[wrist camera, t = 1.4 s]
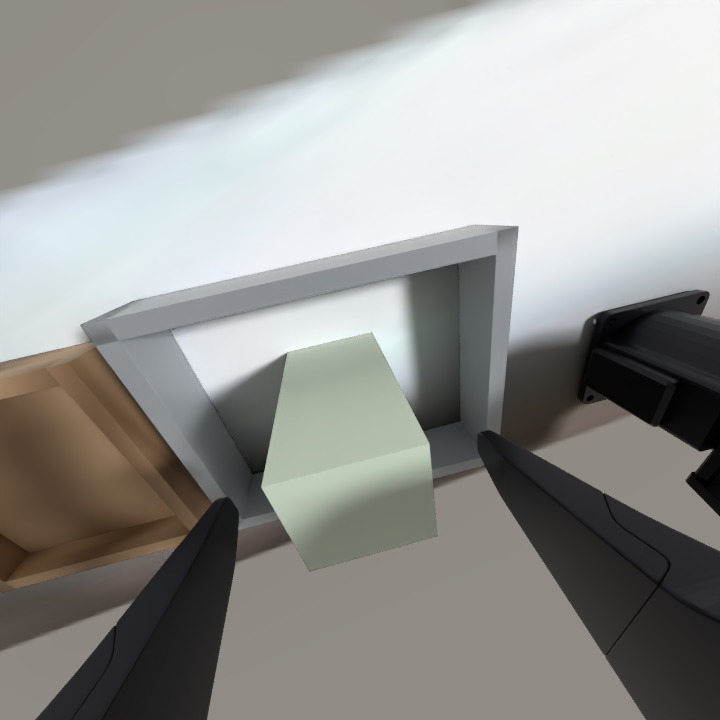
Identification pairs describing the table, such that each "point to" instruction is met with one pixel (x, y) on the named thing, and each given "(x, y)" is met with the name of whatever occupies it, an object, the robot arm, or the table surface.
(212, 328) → the table surface
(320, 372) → the sage block
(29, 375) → the wooden tray
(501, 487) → the robot arm
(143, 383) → the grey bin
